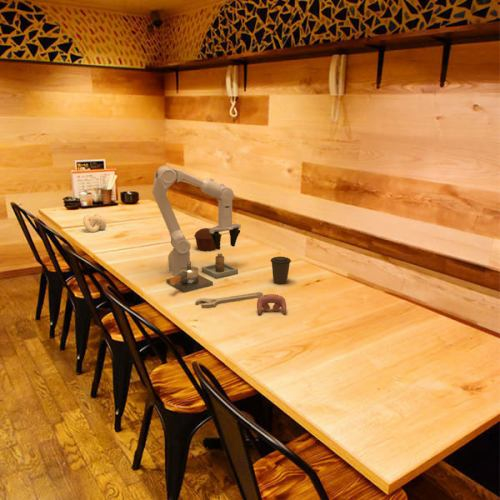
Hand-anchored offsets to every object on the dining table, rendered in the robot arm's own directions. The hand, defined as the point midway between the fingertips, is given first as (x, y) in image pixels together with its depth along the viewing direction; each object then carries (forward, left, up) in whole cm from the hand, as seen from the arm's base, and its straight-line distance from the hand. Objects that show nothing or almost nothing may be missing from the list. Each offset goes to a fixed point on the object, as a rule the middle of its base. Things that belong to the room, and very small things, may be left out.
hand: (225, 247), depth 198 cm
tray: (+3, -5, -9) cm, 11 cm away
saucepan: (+9, -26, -8) cm, 29 cm away
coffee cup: (+26, +8, -10) cm, 29 cm away
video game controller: (+46, -14, -10) cm, 49 cm away
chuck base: (+7, -22, -9) cm, 25 cm away
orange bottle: (+3, -5, -9) cm, 10 cm away
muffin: (-30, +10, -10) cm, 33 cm away
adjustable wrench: (+31, -19, -10) cm, 37 cm away
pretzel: (-97, -20, -10) cm, 100 cm away
